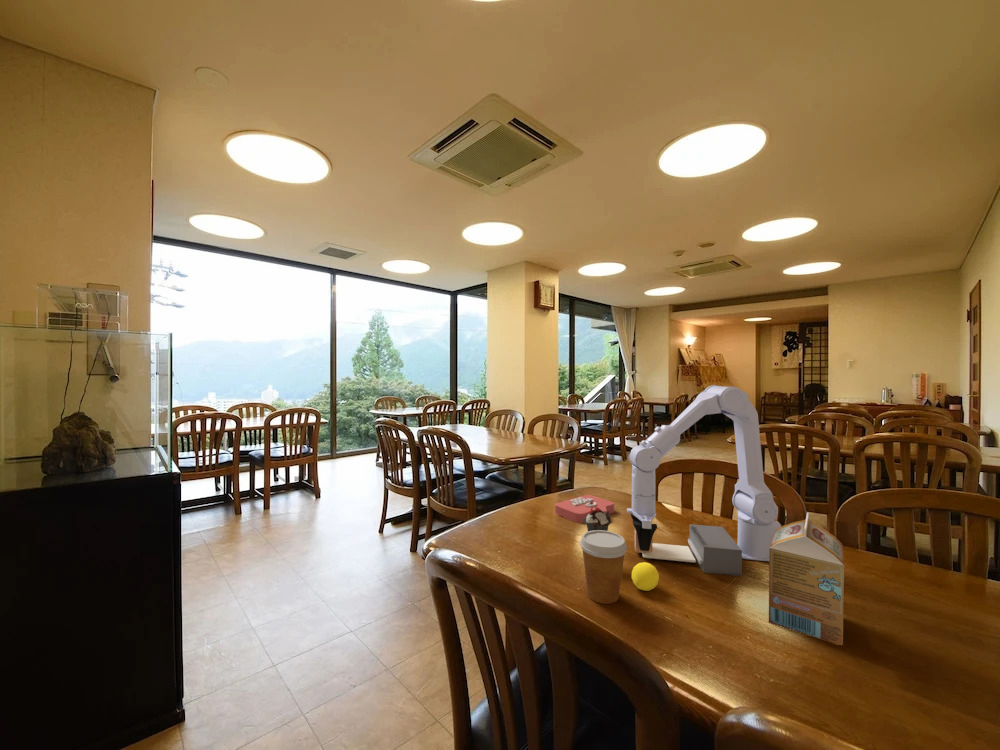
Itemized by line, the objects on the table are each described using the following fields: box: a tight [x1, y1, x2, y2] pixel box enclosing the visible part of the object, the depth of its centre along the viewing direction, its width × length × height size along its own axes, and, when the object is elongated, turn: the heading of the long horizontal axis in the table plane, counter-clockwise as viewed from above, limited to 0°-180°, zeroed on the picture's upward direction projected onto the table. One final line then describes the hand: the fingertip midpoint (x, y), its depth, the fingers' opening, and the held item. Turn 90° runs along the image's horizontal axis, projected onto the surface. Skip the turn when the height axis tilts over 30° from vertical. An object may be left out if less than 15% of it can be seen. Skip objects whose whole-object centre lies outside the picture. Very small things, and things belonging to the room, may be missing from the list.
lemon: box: [631, 561, 660, 592], centre depth 87 cm, size 7×5×5 cm
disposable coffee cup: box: [579, 530, 628, 605], centre depth 84 cm, size 10×10×12 cm
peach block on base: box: [634, 528, 697, 563], centre depth 102 cm, size 14×8×5 cm, turn 77°
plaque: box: [554, 494, 615, 524], centre depth 133 cm, size 18×4×15 cm
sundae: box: [584, 502, 612, 532], centre depth 99 cm, size 7×7×15 cm
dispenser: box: [687, 523, 743, 577], centre depth 100 cm, size 9×14×6 cm, turn 167°
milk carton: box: [768, 512, 845, 646], centre depth 76 cm, size 11×11×19 cm
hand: (643, 546), depth 104 cm, fingers open, 4 cm apart
